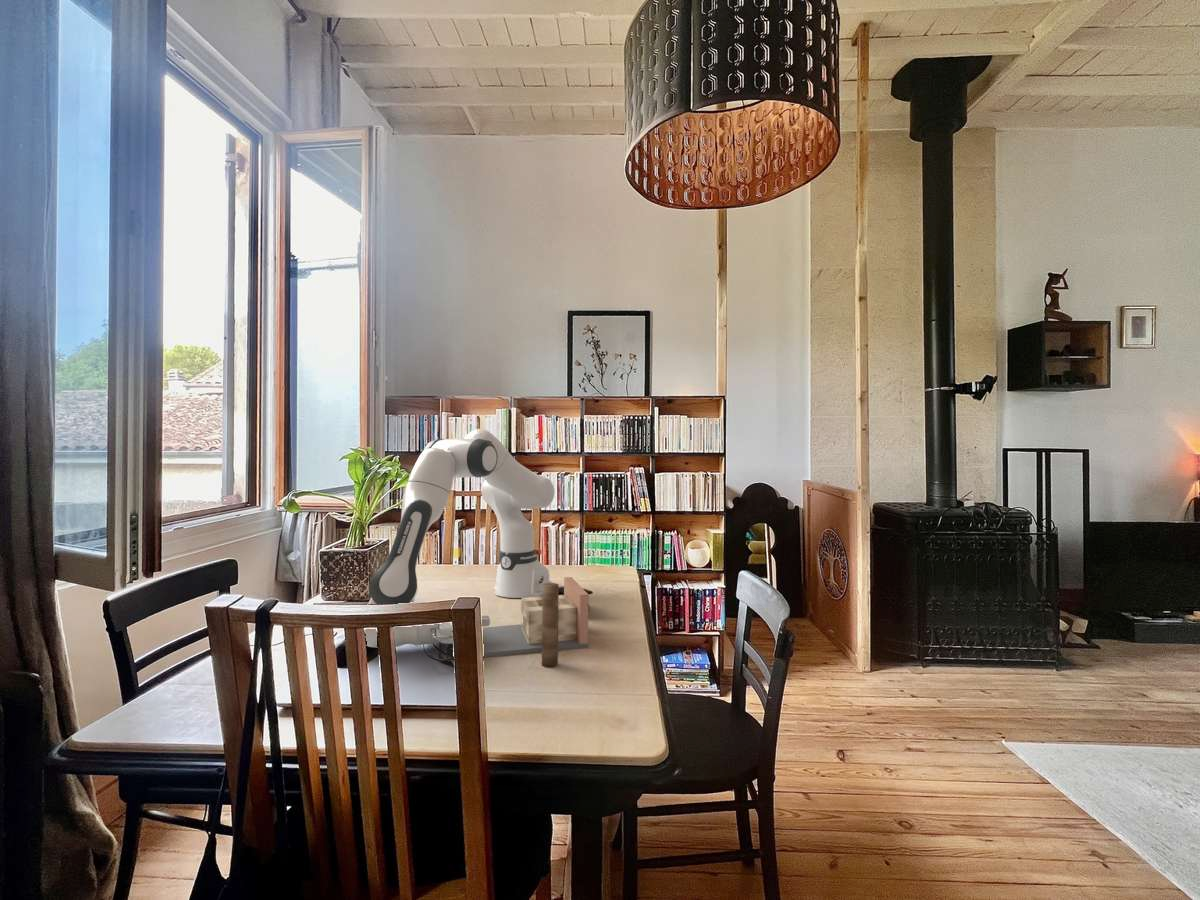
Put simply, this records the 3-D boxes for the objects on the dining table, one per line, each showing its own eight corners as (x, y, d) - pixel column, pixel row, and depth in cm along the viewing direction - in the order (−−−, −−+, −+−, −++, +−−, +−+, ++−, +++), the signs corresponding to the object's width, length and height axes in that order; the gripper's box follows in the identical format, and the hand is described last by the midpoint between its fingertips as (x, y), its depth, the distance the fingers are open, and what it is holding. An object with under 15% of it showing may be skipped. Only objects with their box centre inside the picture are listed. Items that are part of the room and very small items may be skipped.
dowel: (547, 660, 130) (548, 582, 130) (560, 663, 129) (561, 584, 128) (538, 665, 127) (539, 585, 127) (552, 668, 126) (552, 587, 125)
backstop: (475, 658, 131) (475, 602, 131) (470, 632, 148) (470, 582, 148) (587, 647, 139) (588, 594, 138) (570, 624, 156) (571, 577, 156)
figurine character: (549, 612, 172) (575, 619, 159) (548, 586, 172) (574, 592, 160) (568, 608, 175) (595, 615, 163) (567, 583, 176) (594, 588, 163)
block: (528, 643, 138) (528, 611, 137) (521, 628, 149) (521, 597, 149) (576, 639, 141) (576, 607, 141) (565, 624, 153) (566, 594, 152)
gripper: (431, 625, 127) (493, 620, 131) (431, 600, 146) (485, 597, 150) (430, 653, 127) (493, 647, 131) (431, 624, 146) (485, 620, 150)
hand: (489, 620), depth 141 cm, fingers closed
